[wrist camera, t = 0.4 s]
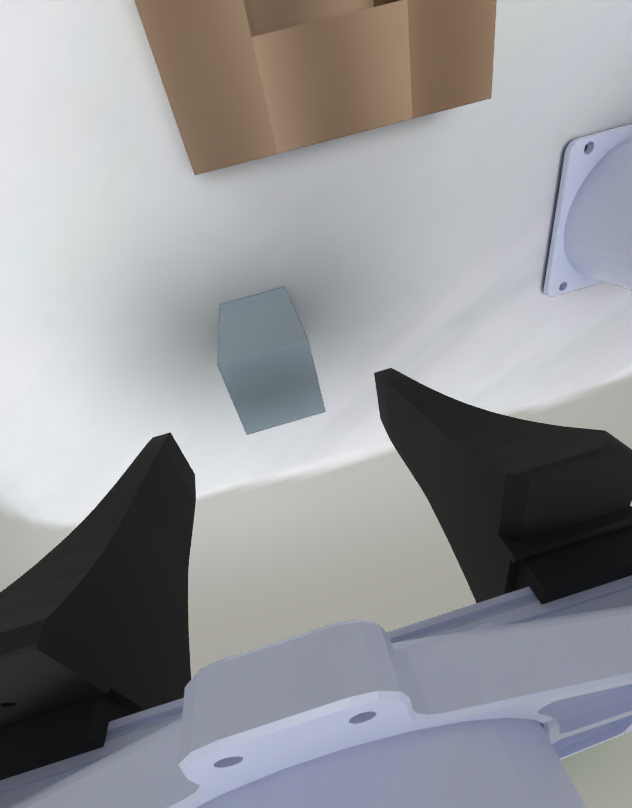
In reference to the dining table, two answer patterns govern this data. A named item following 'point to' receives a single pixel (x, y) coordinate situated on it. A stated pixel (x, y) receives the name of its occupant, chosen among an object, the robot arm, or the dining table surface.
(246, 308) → the peg
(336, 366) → the dining table surface
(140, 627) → the robot arm
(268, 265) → the dining table surface
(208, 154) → the socket holder
